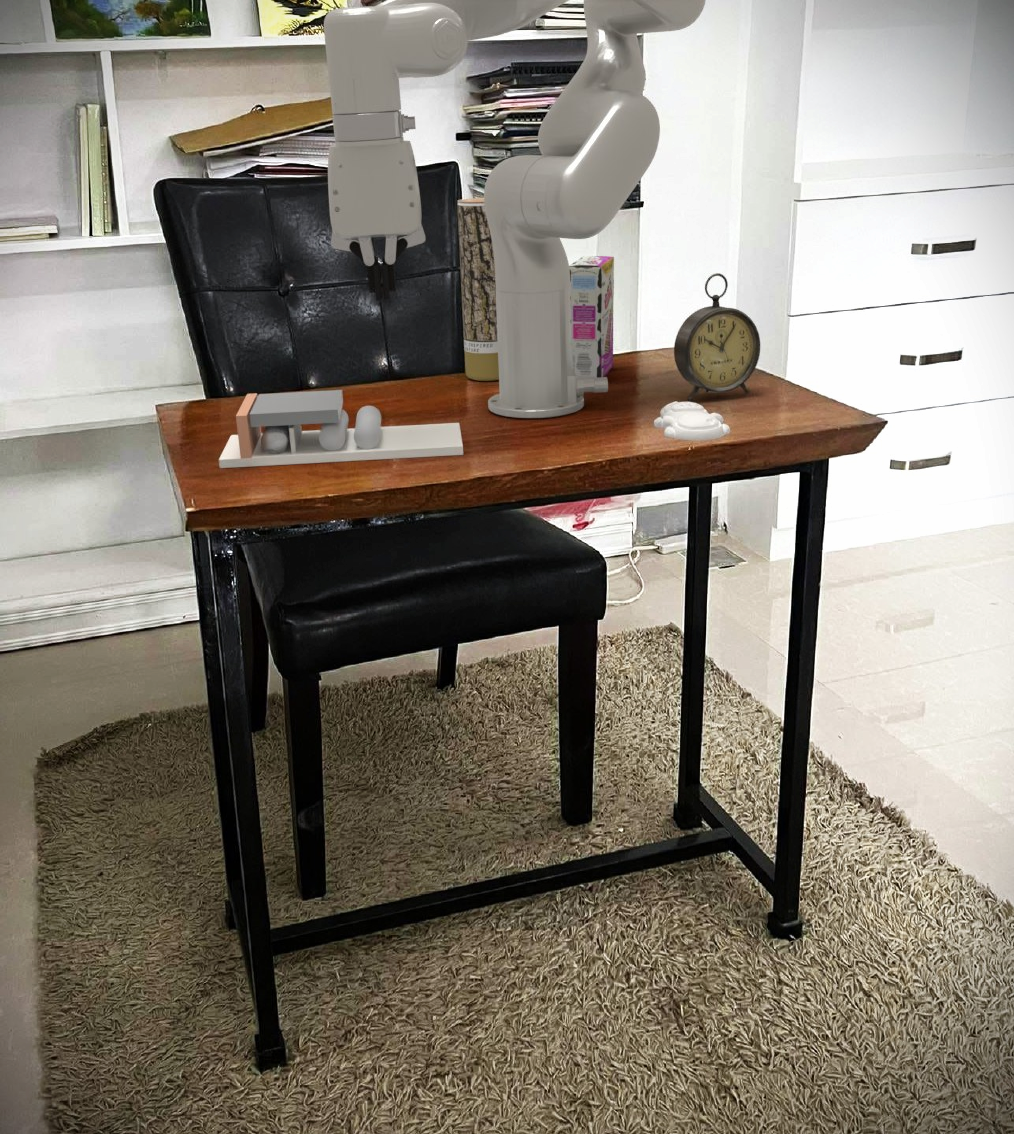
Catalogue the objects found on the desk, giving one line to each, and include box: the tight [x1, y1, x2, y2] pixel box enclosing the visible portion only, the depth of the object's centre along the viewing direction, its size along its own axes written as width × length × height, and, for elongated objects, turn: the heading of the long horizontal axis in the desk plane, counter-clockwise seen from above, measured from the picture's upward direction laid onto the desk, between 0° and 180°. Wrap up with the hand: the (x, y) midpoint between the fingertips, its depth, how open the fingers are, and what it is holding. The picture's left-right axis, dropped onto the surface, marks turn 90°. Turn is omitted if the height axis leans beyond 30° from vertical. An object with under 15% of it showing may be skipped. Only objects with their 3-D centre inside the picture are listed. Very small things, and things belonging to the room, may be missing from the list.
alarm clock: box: [673, 273, 761, 402], centre depth 165 cm, size 11×5×16 cm, turn 110°
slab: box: [250, 389, 344, 428], centre depth 148 cm, size 10×10×2 cm
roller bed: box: [218, 392, 464, 469], centre depth 149 cm, size 28×11×6 cm, turn 94°
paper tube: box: [456, 197, 499, 382], centre depth 179 cm, size 7×7×25 cm
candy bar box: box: [569, 255, 615, 378], centre depth 180 cm, size 11×5×16 cm, turn 166°
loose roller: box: [261, 425, 290, 454], centre depth 148 cm, size 3×9×3 cm, turn 5°
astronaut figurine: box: [653, 401, 731, 442], centre depth 153 cm, size 9×12×3 cm
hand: (383, 298), depth 144 cm, fingers closed
